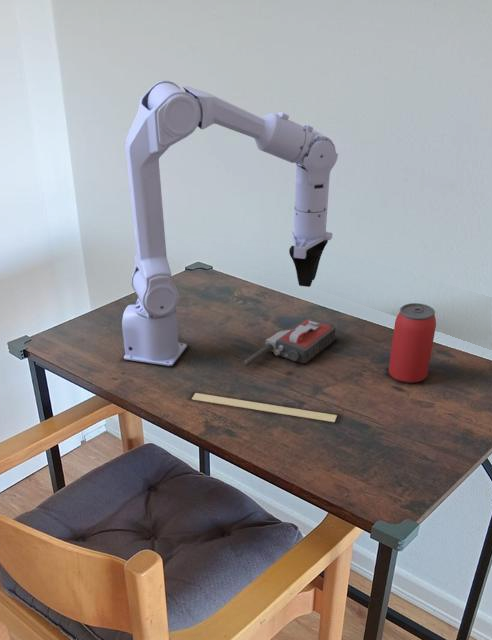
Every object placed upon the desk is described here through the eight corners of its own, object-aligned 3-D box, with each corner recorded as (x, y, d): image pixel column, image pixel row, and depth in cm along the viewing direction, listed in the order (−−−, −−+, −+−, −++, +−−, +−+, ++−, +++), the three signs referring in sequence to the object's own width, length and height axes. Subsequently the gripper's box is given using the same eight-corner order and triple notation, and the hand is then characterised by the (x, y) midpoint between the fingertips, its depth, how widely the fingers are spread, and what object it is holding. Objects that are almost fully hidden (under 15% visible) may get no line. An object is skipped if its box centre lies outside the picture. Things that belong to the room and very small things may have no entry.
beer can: (430, 369, 130) (442, 305, 123) (422, 388, 126) (433, 322, 118) (393, 362, 133) (402, 299, 125) (383, 380, 128) (392, 315, 121)
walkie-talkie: (299, 326, 145) (239, 369, 132) (301, 304, 142) (239, 346, 129) (340, 338, 140) (282, 383, 128) (342, 316, 138) (282, 360, 125)
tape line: (191, 399, 125) (191, 398, 125) (195, 393, 126) (195, 392, 126) (334, 422, 118) (334, 421, 118) (337, 415, 120) (337, 415, 120)
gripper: (324, 223, 123) (319, 301, 131) (342, 196, 134) (336, 269, 142) (282, 219, 125) (280, 296, 133) (303, 193, 136) (299, 265, 144)
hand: (306, 282), depth 138 cm, fingers closed
